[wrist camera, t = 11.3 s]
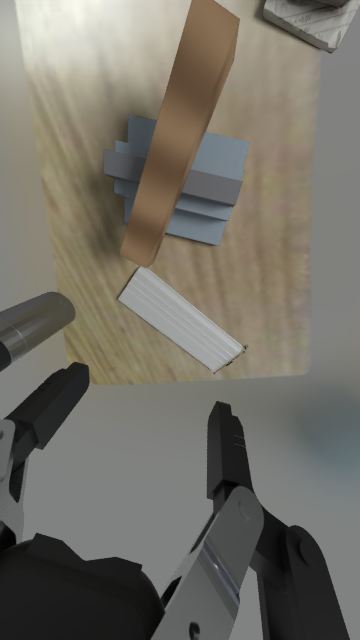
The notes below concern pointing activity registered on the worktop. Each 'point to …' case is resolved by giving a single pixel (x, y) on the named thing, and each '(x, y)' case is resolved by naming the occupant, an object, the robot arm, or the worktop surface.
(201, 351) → the baseboard molding
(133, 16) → the worktop surface
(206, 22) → the walnut batten
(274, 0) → the packaged product
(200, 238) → the ridge stand
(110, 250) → the worktop surface
